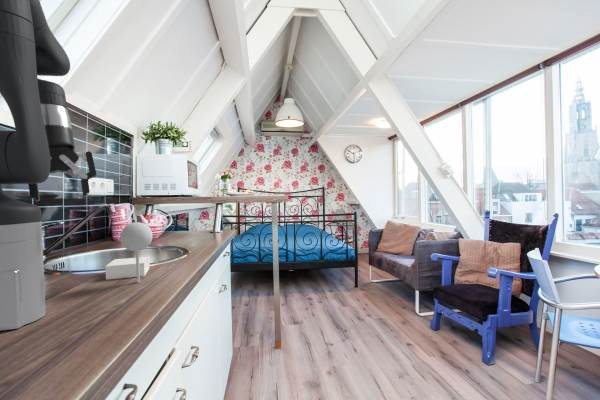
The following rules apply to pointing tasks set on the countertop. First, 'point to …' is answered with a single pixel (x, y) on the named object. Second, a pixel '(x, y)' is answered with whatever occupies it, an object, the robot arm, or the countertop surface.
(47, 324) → the countertop surface
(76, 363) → the countertop surface
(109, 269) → the white soap bar
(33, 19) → the robot arm
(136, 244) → the lollipop
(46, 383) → the countertop surface
